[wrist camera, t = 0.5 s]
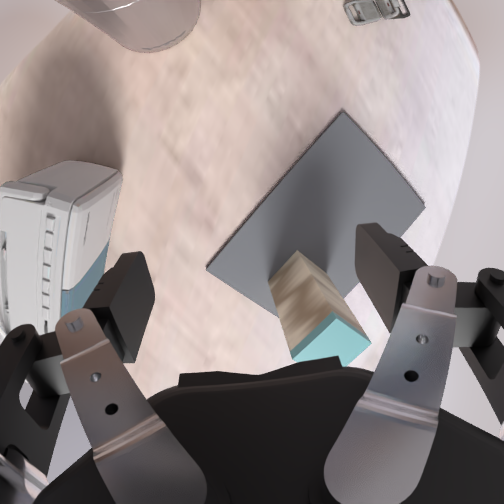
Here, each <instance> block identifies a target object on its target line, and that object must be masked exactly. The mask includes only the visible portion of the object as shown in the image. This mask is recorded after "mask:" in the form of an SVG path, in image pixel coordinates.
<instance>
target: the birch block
mask: <svg viewBox="0 0 504 504" xmlns="http://www.w3.org/2000/svg"><path fill="white" fill-rule="evenodd" d="M268 284H269V287H270V291H271V294H272V297H273V300H274V303H275V306H276V309H277V312H278V316H279V319H280V322H281V325H282V328H283V331H284V335H285V338H286V341H287V344H288V347H289V350H290V354H291V357H292V359H293V360H294V361H296V362H301V361H308V360H314V359H320V358H326V357H332V356H339V358H340V361H341V364H342V366H343V367H346V366H347V365H348V364H349V363H350V362H352V361H353V360H354V359H355V358H356V357H357V356H358V355H359V354H361V353H362V352H363V351H364V350H365V349H366V348H367V347H368V346H369V345H370V344H371V341H370V340H369V338H368V337H367V335H366V333H365V332H364V330H363V329H362V327H361V326H360V324H359V322H358V321H357V319H356V318H355V316H354V315H353V313H352V311H351V310H350V308H349V307H348V305H347V304H346V302H345V301H344V299H343V298H342V296H341V295H340V293H339V291H338V290H337V288H336V287H335V285H334V284H333V282H332V281H331V279H330V278H329V276H328V275H327V273H325V272H324V271H323V270H322V269H320V268H319V267H318V266H317V265H315V264H314V263H313V262H312V261H310V260H309V259H308V258H307V257H305V256H304V255H303V254H302V253H300V252H299V251H298V250H297V251H296V252H295V253H294V254H293V255H292V256H291V257H290V258H289V260H288V261H287V262H286V263H285V264H284V265H283V266H282V267H281V268H280V269H279V270H278V271H277V273H276V274H275V275H274V276H273V277H272V278H271V279H270V280H269V281H268Z"/></svg>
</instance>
